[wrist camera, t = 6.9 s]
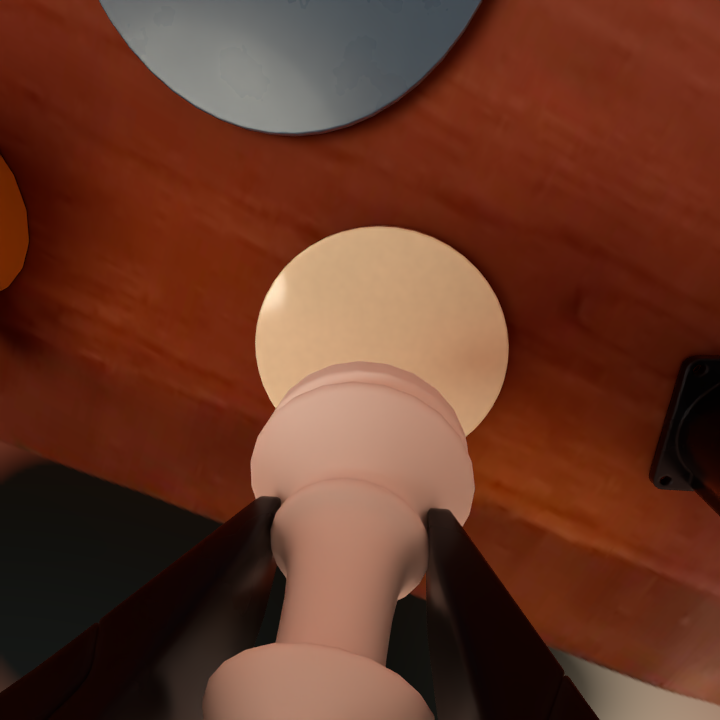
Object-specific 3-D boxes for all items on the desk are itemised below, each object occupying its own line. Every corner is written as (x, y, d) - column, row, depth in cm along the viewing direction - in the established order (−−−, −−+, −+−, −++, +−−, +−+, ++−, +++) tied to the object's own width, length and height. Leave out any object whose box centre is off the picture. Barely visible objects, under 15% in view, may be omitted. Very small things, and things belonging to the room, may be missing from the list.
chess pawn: (469, 355, 9) (1035, 1789, 1) (463, 529, 11) (632, 1544, 3) (257, 359, 10) (-570, 1217, 2) (283, 523, 12) (-31, 1331, 3)
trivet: (490, 459, 20) (494, 472, 19) (273, 448, 21) (266, 459, 20) (519, 224, 16) (526, 225, 15) (249, 225, 17) (240, 227, 16)
